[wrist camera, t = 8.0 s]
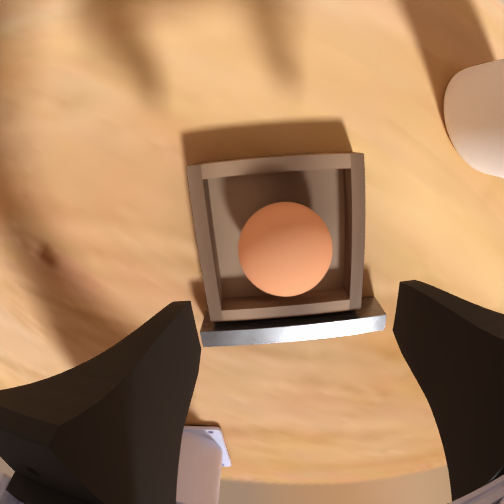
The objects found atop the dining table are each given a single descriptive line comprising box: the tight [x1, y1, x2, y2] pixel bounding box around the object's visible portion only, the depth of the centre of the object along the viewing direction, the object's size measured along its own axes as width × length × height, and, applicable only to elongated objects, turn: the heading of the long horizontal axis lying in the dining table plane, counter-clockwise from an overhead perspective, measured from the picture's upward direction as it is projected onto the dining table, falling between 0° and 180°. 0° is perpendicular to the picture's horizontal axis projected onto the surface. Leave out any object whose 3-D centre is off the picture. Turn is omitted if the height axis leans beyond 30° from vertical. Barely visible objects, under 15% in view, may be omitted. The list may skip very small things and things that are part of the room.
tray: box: [186, 152, 365, 322], centre depth 18 cm, size 10×10×2 cm
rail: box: [200, 297, 386, 347], centre depth 20 cm, size 12×1×2 cm, turn 95°
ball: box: [238, 202, 333, 297], centre depth 16 cm, size 5×5×5 cm
